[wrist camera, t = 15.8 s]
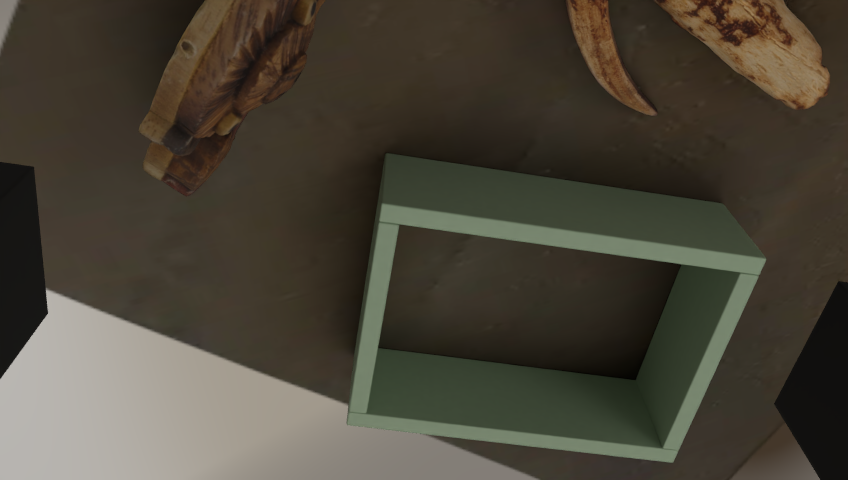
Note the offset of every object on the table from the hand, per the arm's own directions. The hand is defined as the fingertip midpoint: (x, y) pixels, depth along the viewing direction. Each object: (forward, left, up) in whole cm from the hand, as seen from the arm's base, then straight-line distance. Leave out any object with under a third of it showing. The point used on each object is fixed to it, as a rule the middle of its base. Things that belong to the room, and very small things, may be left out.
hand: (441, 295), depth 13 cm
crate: (+16, +9, -27) cm, 32 cm away
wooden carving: (+3, -7, -27) cm, 28 cm away
